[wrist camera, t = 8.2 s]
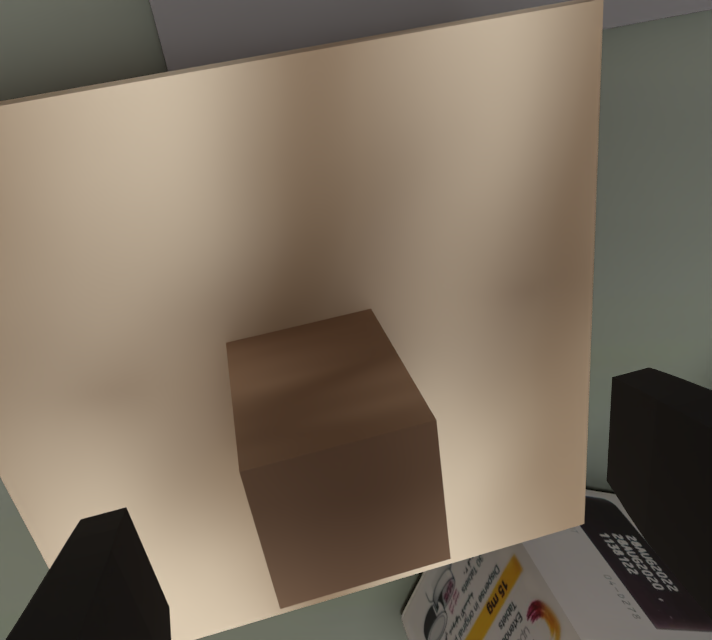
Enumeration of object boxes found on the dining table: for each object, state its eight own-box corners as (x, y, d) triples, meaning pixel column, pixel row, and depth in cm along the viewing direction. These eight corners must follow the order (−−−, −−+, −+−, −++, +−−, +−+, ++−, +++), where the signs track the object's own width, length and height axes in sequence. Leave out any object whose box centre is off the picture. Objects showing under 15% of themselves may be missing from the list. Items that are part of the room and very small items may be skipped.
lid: (579, -1, 12) (784, -1, 8) (569, 503, 18) (681, 653, 14) (-156, 128, 10) (-389, 214, 6) (105, 638, 17) (76, 855, 12)
